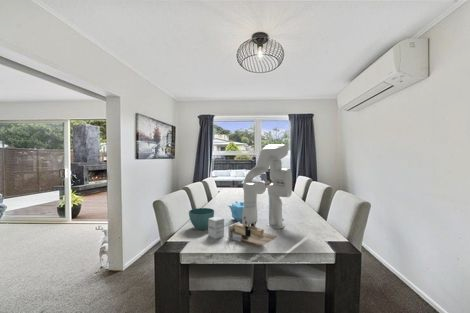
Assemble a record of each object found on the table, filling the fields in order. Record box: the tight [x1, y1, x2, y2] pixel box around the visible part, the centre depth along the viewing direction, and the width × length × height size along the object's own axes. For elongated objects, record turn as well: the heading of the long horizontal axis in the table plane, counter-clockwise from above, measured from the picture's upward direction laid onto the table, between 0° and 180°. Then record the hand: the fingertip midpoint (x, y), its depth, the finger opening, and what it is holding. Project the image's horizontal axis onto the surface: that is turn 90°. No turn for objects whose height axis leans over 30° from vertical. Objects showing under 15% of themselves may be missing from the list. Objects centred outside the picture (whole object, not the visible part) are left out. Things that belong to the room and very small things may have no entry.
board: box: [226, 232, 278, 249], centre depth 139 cm, size 22×23×2 cm
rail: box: [235, 223, 265, 240], centre depth 133 cm, size 4×18×5 cm, turn 51°
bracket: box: [227, 221, 249, 243], centre depth 138 cm, size 11×8×8 cm
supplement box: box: [207, 216, 225, 240], centre depth 142 cm, size 7×7×13 cm
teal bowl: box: [188, 207, 215, 231], centre depth 162 cm, size 18×18×12 cm
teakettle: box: [227, 200, 244, 224], centre depth 180 cm, size 19×19×15 cm
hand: (250, 234), depth 132 cm, fingers closed on rail, 4 cm apart
